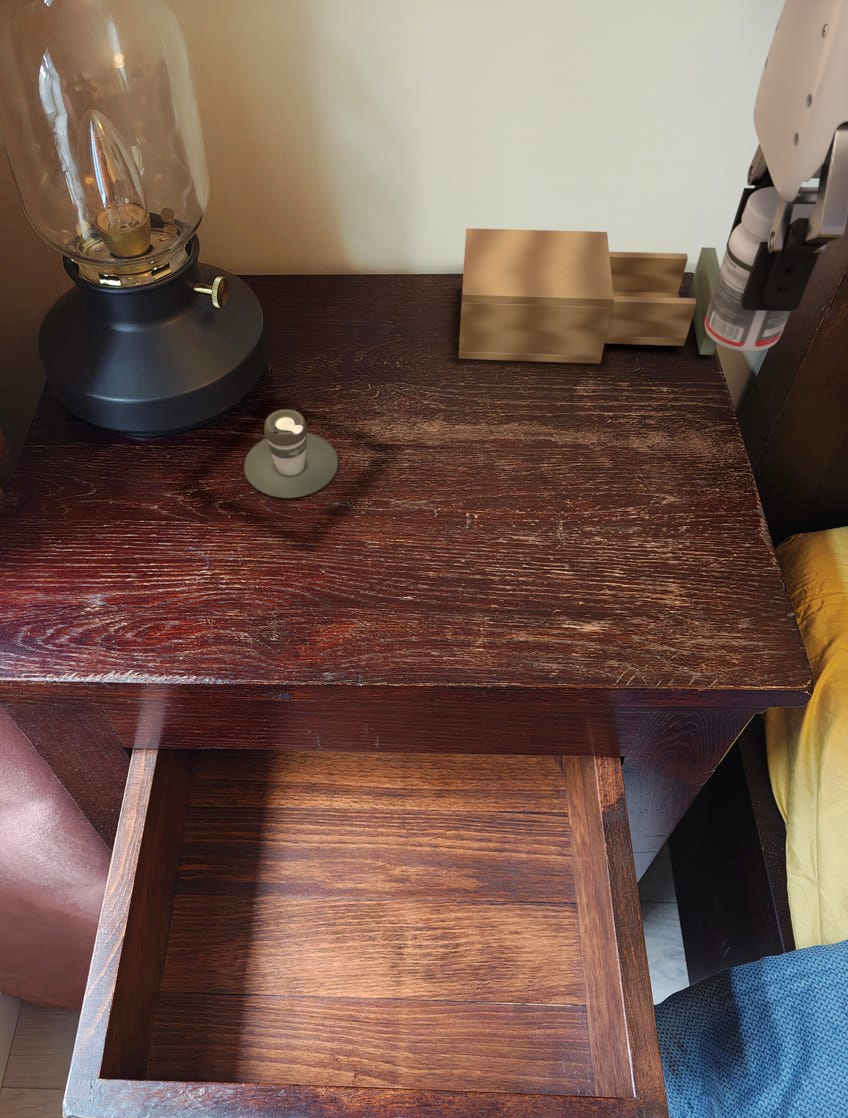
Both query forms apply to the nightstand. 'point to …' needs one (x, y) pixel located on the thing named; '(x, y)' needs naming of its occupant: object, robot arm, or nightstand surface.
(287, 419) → the coffee cup
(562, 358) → the cabinet
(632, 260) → the drawer
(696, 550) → the nightstand surface
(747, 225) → the pill bottle
